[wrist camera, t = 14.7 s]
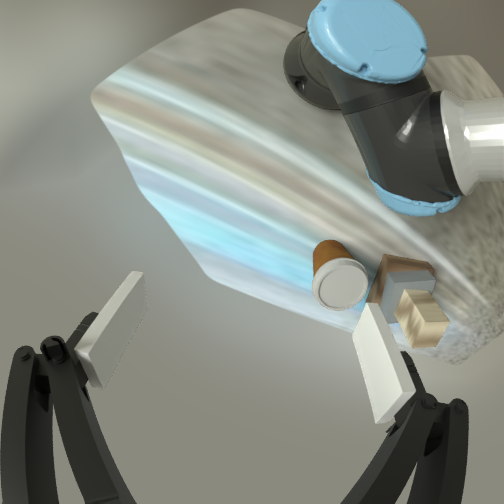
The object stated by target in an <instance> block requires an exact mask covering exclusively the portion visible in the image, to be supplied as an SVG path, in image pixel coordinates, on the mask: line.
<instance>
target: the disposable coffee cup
mask: <svg viewBox="0 0 504 504" xmlns="http://www.w3.org/2000/svg"><path fill="white" fill-rule="evenodd" d="M313 270H314V278H313V281H312V292H313V295H314V297H315V299H316V300H317V301H318V302H319V303H320V304H321V305H322V306H324V307H325V308H327V309H330V310H335V311H340V310H345V309H349V308H351V307H353V306H355V305H356V304H357V303H359V302H360V301H361V300H362V298H363V297H364V295H365V294H366V291H367V288H368V273H367V271H366V269H365V268H364V266H363V265H362V264H361V263H359V262H358V261H356V260H355V259H354V258H353V257H352V256H351V255H350V254H349V253H348V252H347V250H346V249H345V248H344V247H343V246H342V245H341V244H340V243H339V242H337V241H335V240H326V241H323V242H321V243H319V244H318V245H317V246H316V248H315V250H314V252H313Z"/></svg>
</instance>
